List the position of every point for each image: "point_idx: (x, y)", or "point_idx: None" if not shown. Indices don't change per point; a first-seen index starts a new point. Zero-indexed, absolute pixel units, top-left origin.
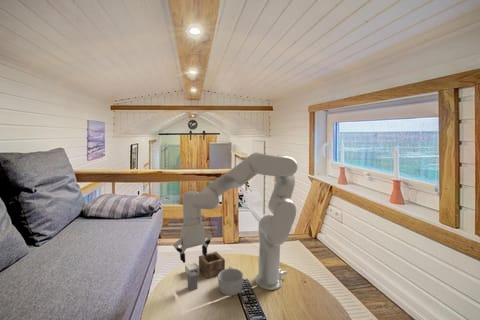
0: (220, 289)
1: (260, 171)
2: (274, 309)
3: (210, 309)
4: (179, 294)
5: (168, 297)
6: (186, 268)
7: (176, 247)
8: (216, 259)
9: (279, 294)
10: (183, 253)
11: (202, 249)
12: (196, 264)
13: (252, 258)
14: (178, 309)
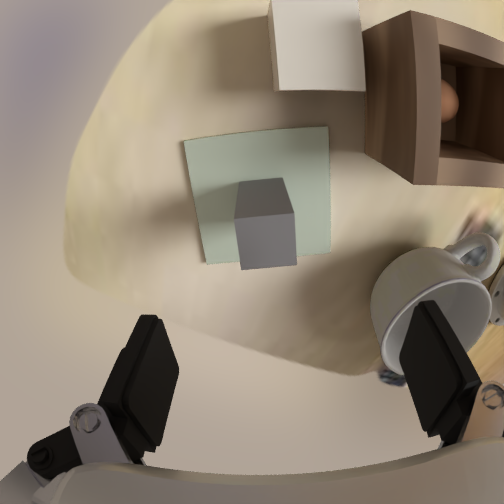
0: (371, 308)
1: None
2: None
3: (288, 337)
4: (187, 205)
5: (133, 207)
6: (272, 30)
7: (44, 493)
8: (494, 95)
9: (487, 337)
10: (141, 445)
11: (436, 354)
12: (359, 41)
13: None
14: (171, 296)
